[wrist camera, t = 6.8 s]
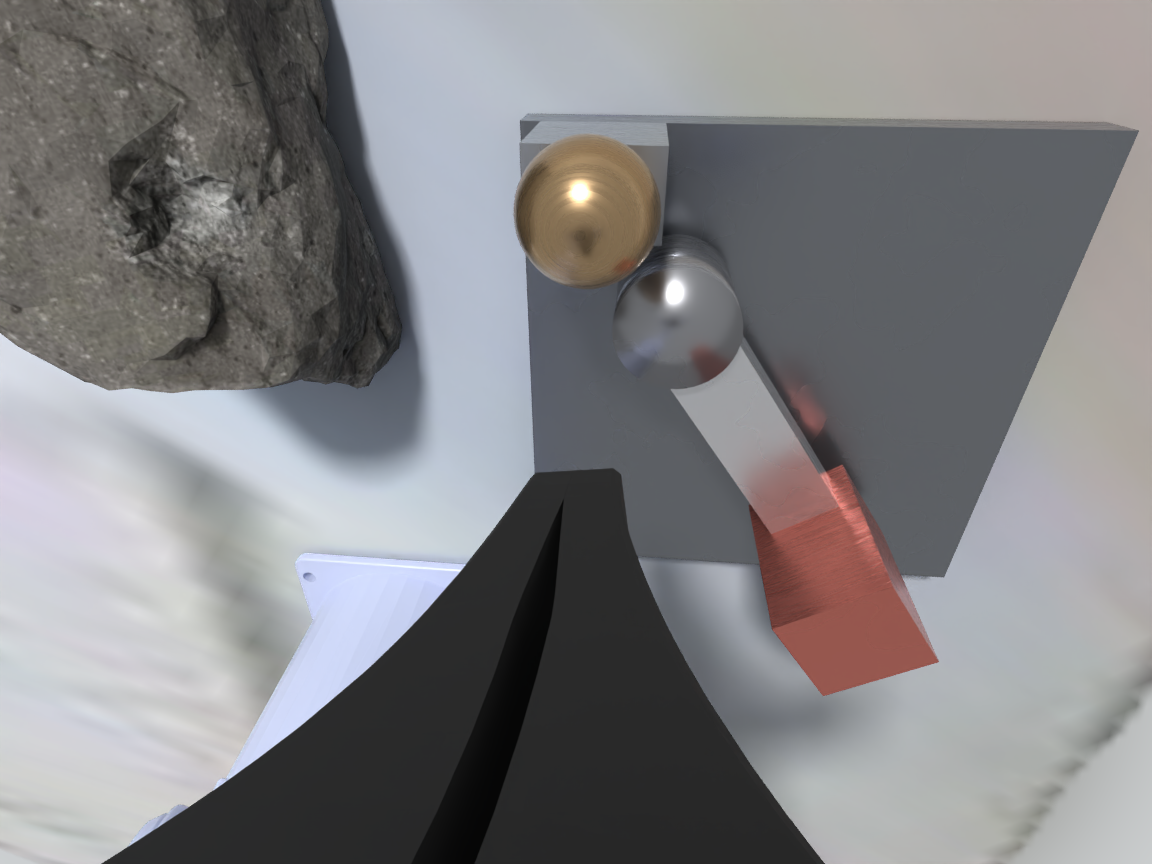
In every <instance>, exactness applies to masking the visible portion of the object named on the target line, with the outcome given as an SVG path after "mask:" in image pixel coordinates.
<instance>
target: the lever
mask: <svg viewBox="0 0 1152 864" xmlns="http://www.w3.org/2000/svg"><path fill="white" fill-rule="evenodd" d="M612 337H613V343H614V347H615V350H616V353H617V355H618V357H619V359H620V360H621V362H622V364H623V365H624V366H625V367H626V368H627V370H629V371H630V372H631V373H632V374H633V375H634V376H636V377H637V378H638V379H640V380H642V381H644V382H645V383H648V384H650V385H653V386H656V387H660V388H666V389H671V391H672V392H673V394H674V395H675V396H676V398H677V399H678V401H679V402H680V404H681V405H682V407H683V408H684V409H685V411H686V412H687V414H688V415H689V417H690V418H691V420H692V421H693V422H694V424H695V425H696V427H697V428H698V430H699V431H700V432H701V434H702V435H703V437H704V438H705V440H706V441H707V443H708V444H709V445H710V447H711V448H712V450H713V451H714V453H715V454H716V455H717V457H718V458H719V460H720V461H721V463H722V464H723V466H724V467H725V468H726V470H727V471H728V473H729V474H730V476H731V477H732V478H733V480H734V481H735V483H736V484H737V486H738V487H739V489H740V490H741V491H742V493H743V494H744V496H745V497H746V499H747V500H748V501H749V503H750V505H748V506H749V511H750V516H751V522H752V527H753V532H754V537H755V543H756V548H757V553H758V558H759V563H760V569H761V574H762V579H763V584H764V589H765V595H766V600H767V605H768V610H769V615H770V621H771V626H772V630H773V631H774V632H775V634H776V635H777V636H778V638H779V639H780V640H781V642H782V643H783V644H784V645H785V647H786V648H787V649H788V651H789V652H790V653H791V655H792V656H793V657H794V659H795V660H796V661H797V662H798V664H799V665H800V666H801V668H802V669H803V670H804V672H805V673H806V674H807V676H808V677H809V678H810V680H811V681H812V682H813V683H814V685H815V686H816V687H817V689H818V690H819V691H820V693H821V694H822V695H823V696H825V695H829V694H832V693H835V692H839V691H842V690H845V689H849V688H852V687H856V686H859V685H862V684H866V683H869V682H873V681H876V680H879V679H883V678H886V677H890V676H893V675H896V674H900V673H903V672H907V671H910V670H913V669H917V668H920V667H924V666H927V665H930V664H934V663H937V662H939V661H938V659H937V656H936V654H935V652H934V650H933V647H932V645H931V643H930V640H929V638H928V636H927V634H926V631H925V629H924V627H923V624H922V622H921V620H920V617H919V615H918V613H917V611H916V608H915V606H914V604H913V601H912V599H911V597H910V595H909V592H908V590H907V588H906V585H905V583H904V581H903V578H902V576H901V574H900V572H899V569H898V567H897V565H896V562H895V560H894V558H893V556H892V553H891V551H890V549H889V546H888V544H887V542H886V540H885V537H884V535H883V533H882V531H881V529H880V527H879V526H878V524H877V522H876V521H875V519H874V517H873V515H872V514H871V512H870V510H869V509H868V507H867V505H866V504H865V502H864V500H863V498H862V497H861V495H860V493H859V492H858V490H857V488H856V487H855V485H854V483H853V481H852V480H851V478H850V476H849V475H848V473H847V471H846V470H845V468H844V466H843V465H840V466H838V467H836V468H834V469H831V470H829V471H827V472H826V471H825V469H824V467H823V466H822V464H821V463H820V461H819V459H818V458H817V456H816V454H815V453H814V451H813V449H812V448H811V446H810V444H809V443H808V441H807V439H806V438H805V436H804V435H803V433H802V431H801V430H800V428H799V426H798V425H797V423H796V421H795V420H794V418H793V416H792V415H791V413H790V412H789V410H788V408H787V407H786V405H785V403H784V402H783V400H782V398H781V397H780V395H779V393H778V392H777V390H776V388H775V387H774V385H773V384H772V382H771V380H770V379H769V377H768V375H767V374H766V372H765V370H764V369H763V367H762V365H761V364H760V362H759V360H758V359H757V357H756V356H755V354H754V352H753V351H752V349H751V347H750V346H749V344H748V342H747V341H746V339H745V337H744V336H743V317H742V312H741V309H740V305H739V302H738V299H737V295H736V292H735V288H734V285H733V281H732V278H731V274H730V271H729V268H728V266H727V264H726V262H725V260H724V259H723V257H722V256H721V254H720V253H719V252H718V251H717V250H716V249H715V248H713V247H712V246H711V245H710V244H708V243H706V242H705V241H703V240H700V239H698V238H695V237H692V236H687V235H667V236H662V246H653V248H652V249H651V251H650V253H649V255H648V256H647V257H646V259H645V260H644V261H643V263H642V264H641V265H640V266H639V267H638V268H637V269H636V270H635V271H634V272H633V273H631V274H630V275H629V276H628V277H626V278H624V279H623V280H621V281H619V282H618V286H617V294H616V302H615V310H614V318H613V326H612Z"/></svg>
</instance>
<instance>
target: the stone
mask: <svg viewBox="0 0 1152 864" xmlns="http://www.w3.org/2000/svg"><path fill="white" fill-rule="evenodd" d="M328 46H329V43H328V26H327V22H326V19H325V15H324V11H323V8H322V4H321V1H320V0H0V333H1V334H2V335H4V336H5V337H6V338H8V339H9V340H10V341H12V342H13V343H14V344H15V345H17V346H18V347H20V348H22V349H24V350H26V351H28V352H29V353H31V354H33V355H35V356H37V357H39V358H41V359H43V360H45V361H47V362H48V363H50V364H52V365H54V366H56V367H58V368H60V369H62V370H64V371H65V372H67V373H69V374H71V375H73V376H75V377H77V378H79V379H81V380H82V381H84V382H89V383H93V384H95V385H98V386H100V387H102V388H105V389H107V390H118V389H128V388H135V389H141V390H148V391H157V392H167V393H177V392H184V391H192V390H244V389H255V388H267V387H274V386H279V385H283V384H286V383H290V382H293V381H297V380H301V379H303V380H304V381H311V382H320V383H323V384H329V383H332V382H338V383H343V384H349V385H351V386H353V387H355V388H361V387H365V386H369V384H370V382H371V380H372V379H373V377H374V375H375V373H377V372H378V371H379V370H380V369H381V368H382V367H383V366H384V365H385V364H386V363H387V362H388V361H389V359H390V358H391V356H392V354H393V353H394V352H395V351H396V350H397V349H399V344H400V337H401V329H402V325H401V322H400V319H399V316H398V313H397V309H396V304H395V299H394V296H393V294H392V291H391V288H390V286H389V282H388V280H387V278H386V275H385V272H384V268H383V265H382V261H381V258H380V254H379V251H378V248H377V246H376V243H375V240H374V238H373V236H372V233H371V231H370V229H369V226H368V224H367V222H366V219H365V217H364V214H363V211H362V208H361V204H360V201H359V200H358V198H357V196H356V194H355V192H354V191H353V189H352V187H351V185H350V183H349V181H348V179H347V177H346V175H345V166H344V163H343V160H342V157H341V155H340V152H339V149H338V147H337V145H336V144H335V142H334V140H333V138H332V137H331V135H330V133H329V132H328V130H327V127H326V109H327V98H328V92H327V85H326V79H325V72H324V65H323V64H324V61H325V57H326V53H327V49H328Z"/></svg>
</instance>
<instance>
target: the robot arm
mask: <svg viewBox="0 0 1152 864" xmlns="http://www.w3.org/2000/svg"><path fill="white" fill-rule="evenodd" d="M295 567H296V571H297V574H298V577H299V580H300V583H301V586H302V589H303V592H304V595H305V598H306V601H307V604H308V607H309V610H310V613H311V617H312V620H313V621H312V623H311V625H310V627H309V629H308V631H307V632H306V634H305V636H304V638H303V640H302V641H301V643H300V645H299V647H298V649H297V651H296V652H295V654H294V656H293V658H292V660H291V661H290V663H289V665H288V667H287V669H286V670H285V672H284V674H283V676H282V678H281V680H280V681H279V683H278V685H277V687H276V689H275V690H274V692H273V694H272V696H271V698H270V700H269V701H268V703H267V705H266V707H265V709H264V710H263V712H262V714H261V716H260V718H259V719H258V721H257V723H256V725H255V727H254V729H253V730H252V732H251V734H250V736H249V738H248V739H247V741H246V743H245V745H244V747H243V749H242V750H241V752H240V754H239V756H238V758H237V759H236V761H235V763H234V765H233V767H232V768H231V770H230V772H229V774H228V776H227V778H226V779H225V778H221V779H219V780H218V782H217V784H216V786H215V788H214V789H213V791H212V792H210V793H209V794H207V795H206V796H205V797H203V798H202V799H200V800H199V801H197V802H196V803H194V804H193V805H191V806H190V807H187V806H185V805H177V806H175V807H174V808H172V809H171V810H170V812H169V813H165V814H162V815H160V816H158V817H156V818H154V819H152V820H150V821H148V822H147V823H146V824H145V825H144V826H143V827H142V828H141V830H140V831H139V832H138V833H137V835H136V836H135V837H134V839H133V840H132V841H131V843H130V844H129V846H128V847H127V848H125V849H124V850H122V851H121V852H119V853H118V854H116V855H115V856H113V857H111V858H110V859H108V860H107V861H105V862H103V863H102V864H825V863H824V862H823V861H822V860H821V858H820V857H819V856H818V855H817V853H816V852H815V851H814V850H813V848H812V847H811V846H810V844H809V843H808V842H807V840H806V839H805V838H804V836H803V835H802V834H801V833H800V831H799V830H798V829H797V827H796V826H795V825H794V823H793V822H792V821H791V820H790V818H789V817H788V816H787V814H786V813H785V812H784V810H783V809H782V807H781V806H780V805H779V803H778V802H777V801H776V799H775V798H774V796H773V795H772V794H771V792H770V791H769V789H768V788H767V787H766V785H765V784H764V782H763V781H762V780H761V778H760V777H759V776H758V774H757V773H756V771H755V770H754V769H753V767H752V766H751V764H750V763H749V761H748V760H747V758H746V757H745V755H744V754H743V752H742V751H741V749H740V748H739V746H738V745H737V743H736V742H735V740H734V738H733V737H732V735H731V734H730V732H729V731H728V729H727V728H726V726H725V725H724V723H723V722H722V720H721V719H720V717H719V716H718V714H717V713H716V711H715V710H714V708H713V706H712V705H711V703H710V702H709V700H708V699H707V697H706V695H705V694H704V692H703V690H702V688H701V687H700V685H699V683H698V682H697V680H696V678H695V676H694V675H693V673H692V671H691V670H690V668H689V666H688V664H687V663H686V661H685V659H684V657H683V655H682V653H681V652H680V650H679V648H678V646H677V644H676V642H675V640H674V639H673V637H672V635H671V633H670V631H669V629H668V627H667V625H666V623H665V621H664V618H663V616H662V614H661V612H660V610H659V608H658V606H657V603H656V601H655V599H654V597H653V595H652V592H651V590H650V588H649V586H648V583H647V581H646V578H645V576H644V573H643V571H642V568H641V566H640V563H639V560H638V557H637V554H636V551H635V549H634V546H633V543H632V540H631V537H630V534H629V531H628V524H627V516H626V508H625V500H624V493H623V485H622V477H621V474H620V473H619V472H618V471H616V470H615V469H614V468H607V469H590V470H573V471H555V472H538V473H535V474H534V475H533V476H532V477H531V478H530V480H529V481H528V483H527V484H526V485H525V487H524V488H523V489H522V491H521V492H520V494H519V495H518V497H517V498H516V499H515V501H514V502H513V504H512V505H511V506H510V508H509V509H508V510H507V512H506V513H505V515H504V516H503V517H502V519H501V520H500V521H499V523H498V524H497V525H496V527H495V528H494V529H493V531H492V532H491V533H490V535H489V536H488V537H487V538H486V540H485V541H484V542H483V544H482V545H481V546H480V547H479V549H478V550H477V551H476V552H475V554H474V555H473V556H472V558H471V559H470V560H469V561H468V563H467V564H453V563H439V562H425V561H412V560H398V559H384V558H370V557H356V556H342V555H329V554H315V553H303V554H301V555H300V556H299V557H298V559H297V561H296V562H295ZM311 573H312V574H311Z"/></svg>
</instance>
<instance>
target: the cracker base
mask: <svg viewBox="0 0 1152 864" xmlns="http://www.w3.org/2000/svg"><path fill="white" fill-rule="evenodd" d="M520 130H521V142H520V166H521V179H520V182H519V184H518V187H517V190H516V194H515V200H514V223H515V229H516V233H517V237H518V240H519V242H520V245H521V247H522V249H523V251H524V253H525V254H526V273H527V297H528V321H529V345H530V369H531V393H532V417H533V441H534V465H535V473H538V472H555V471H573V470H590V469H607V468H614V469H615V470H616V471H618V472H619V473H620V474H621V477H622V485H623V493H624V500H625V508H626V516H627V524H628V531H629V534H630V537H631V540H632V543H633V546H634V549H635V551H636V554H637V556H645V557H659V558H673V559H688V560H702V561H716V562H731V563H745V564H760V563H759V558H758V553H757V548H756V543H755V537H754V532H753V527H752V522H751V516H750V511H749V506H748V505H750V503H749V501H748V500H747V499H746V497H745V496H744V494H743V493H742V491H741V490H740V489H739V487H738V486H737V484H736V483H735V481H734V480H733V478H732V477H731V476H730V474H729V473H728V471H727V470H726V468H725V467H724V466H723V464H722V463H721V461H720V460H719V458H718V457H717V455H716V454H715V453H714V451H713V450H712V448H711V447H710V445H709V444H708V443H707V441H706V440H705V438H704V437H703V435H702V434H701V432H700V431H699V430H698V428H697V427H696V425H695V424H694V422H693V421H692V420H691V418H690V417H689V415H688V414H687V412H686V411H685V409H684V408H683V407H682V405H681V404H680V402H679V401H678V399H677V398H676V396H675V395H674V394H673V392H672V391H671V389H666V388H660V387H656V386H653V385H650V384H648V383H645V382H644V381H642V380H640V379H638V378H637V377H636V376H634V375H633V374H632V373H631V372H630V371H629V370H627V368H626V367H625V366H624V365H623V364H622V362H621V360H620V359H619V357H618V355H617V353H616V350H615V347H614V343H613V337H612V326H613V318H614V310H615V302H616V294H617V286H618V282H619V281H621V280H623V279H624V278H626V277H628V276H629V275H630V274H631V273H633V272H634V271H635V270H636V269H637V268H638V267H639V266H640V265H641V264H642V263H643V261H644V260H645V259H646V257H647V256H648V255H649V253H650V251H651V249H652V248H653V246H662V236H667V235H687V236H692V237H695V238H698V239H700V240H703V241H705V242H706V243H708V244H710V245H711V246H712V247H713V248H715V249H716V250H717V251H718V252H719V253H720V254H721V256H722V257H723V259H724V260H725V262H726V264H727V266H728V268H729V271H730V274H731V278H732V281H733V285H734V288H735V292H736V295H737V299H738V302H739V305H740V309H741V312H742V317H743V336H744V337H745V339H746V341H747V342H748V344H749V346H750V347H751V349H752V351H753V352H754V354H755V356H756V357H757V359H758V360H759V362H760V364H761V365H762V367H763V369H764V370H765V372H766V374H767V375H768V377H769V379H770V380H771V382H772V384H773V385H774V387H775V388H776V390H777V392H778V393H779V395H780V397H781V398H782V400H783V402H784V403H785V405H786V407H787V408H788V410H789V412H790V413H791V415H792V416H793V418H794V420H795V421H796V423H797V425H798V426H799V428H800V430H801V431H802V433H803V435H804V436H805V438H806V439H807V441H808V443H809V444H810V446H811V448H812V449H813V451H814V453H815V454H816V456H817V458H818V459H819V461H820V463H821V464H822V466H823V467H824V469H825V471H826V472H827V471H829V470H831V469H834V468H836V467H838V466H840V465H843V466H844V468H845V470H846V471H847V473H848V475H849V476H850V478H851V480H852V481H853V483H854V485H855V487H856V488H857V490H858V492H859V493H860V495H861V497H862V498H863V500H864V502H865V504H866V505H867V507H868V509H869V510H870V512H871V514H872V515H873V517H874V519H875V521H876V522H877V524H878V526H879V527H880V529H881V531H882V533H883V535H884V537H885V540H886V542H887V544H888V546H889V549H890V551H891V553H892V556H893V558H894V560H895V562H896V565H897V567H898V569H899V572H900V574H903V575H917V576H932V577H944V576H945V574H946V572H947V569H948V567H949V565H950V562H951V560H952V558H953V555H954V553H955V551H956V549H957V546H958V544H959V542H960V539H961V537H962V535H963V533H964V530H965V528H966V526H967V523H968V521H969V519H970V517H971V514H972V512H973V510H974V507H975V505H976V503H977V501H978V498H979V496H980V494H981V491H982V489H983V487H984V484H985V482H986V480H987V478H988V475H989V473H990V471H991V468H992V466H993V464H994V462H995V459H996V457H997V455H998V452H999V450H1000V448H1001V446H1002V443H1003V441H1004V439H1005V436H1006V434H1007V432H1008V429H1009V427H1010V425H1011V423H1012V420H1013V418H1014V416H1015V413H1016V411H1017V409H1018V407H1019V404H1020V402H1021V400H1022V397H1023V395H1024V393H1025V391H1026V388H1027V386H1028V384H1029V381H1030V379H1031V377H1032V375H1033V372H1034V370H1035V368H1036V365H1037V363H1038V361H1039V358H1040V356H1041V354H1042V352H1043V349H1044V347H1045V345H1046V342H1047V340H1048V338H1049V336H1050V333H1051V331H1052V329H1053V326H1054V324H1055V322H1056V320H1057V317H1058V315H1059V313H1060V310H1061V308H1062V306H1063V304H1064V301H1065V299H1066V297H1067V294H1068V292H1069V290H1070V287H1071V285H1072V283H1073V281H1074V278H1075V276H1076V274H1077V271H1078V269H1079V267H1080V265H1081V262H1082V260H1083V258H1084V255H1085V253H1086V251H1087V249H1088V246H1089V244H1090V242H1091V239H1092V237H1093V235H1094V233H1095V230H1096V228H1097V226H1098V223H1099V221H1100V219H1101V216H1102V214H1103V212H1104V210H1105V207H1106V205H1107V203H1108V200H1109V198H1110V196H1111V194H1112V191H1113V189H1114V187H1115V184H1116V182H1117V180H1118V178H1119V175H1120V173H1121V171H1122V168H1123V166H1124V164H1125V162H1126V159H1127V157H1128V155H1129V152H1130V150H1131V148H1132V145H1133V143H1134V141H1135V139H1136V136H1137V134H1138V132H1139V131H1138V130H1135V129H1131V128H1127V127H1123V126H1119V125H1115V124H1111V123H1104V122H1038V121H972V120H906V119H840V118H774V117H708V116H642V115H575V114H527V115H526V116H525V117H524V118H523V119H522V120H520Z"/></svg>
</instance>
